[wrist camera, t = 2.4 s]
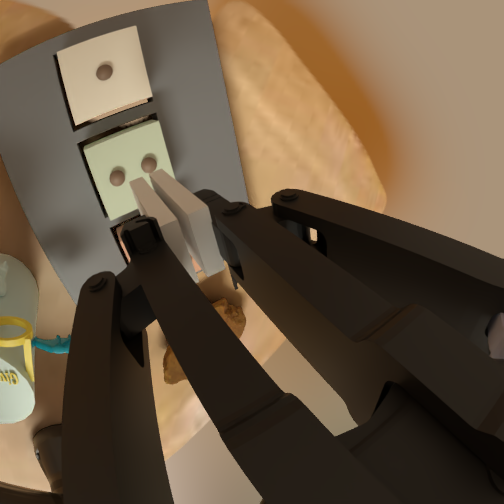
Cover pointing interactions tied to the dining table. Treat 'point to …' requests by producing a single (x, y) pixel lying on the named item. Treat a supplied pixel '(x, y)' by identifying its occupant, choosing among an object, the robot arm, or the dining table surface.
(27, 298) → the character sculpture
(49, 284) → the dining table surface
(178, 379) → the artifact
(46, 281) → the dining table surface
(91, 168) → the tile two
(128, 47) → the tile one
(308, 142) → the dining table surface
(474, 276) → the robot arm
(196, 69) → the button board
